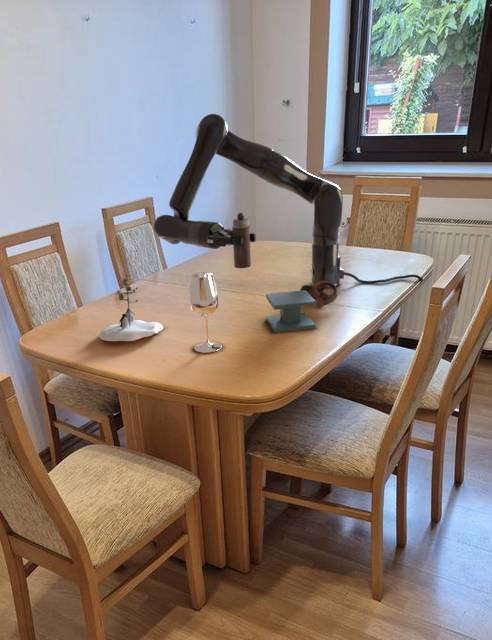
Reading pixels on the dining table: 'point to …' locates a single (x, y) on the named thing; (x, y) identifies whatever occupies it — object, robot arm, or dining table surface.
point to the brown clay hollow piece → (321, 293)
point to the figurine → (129, 323)
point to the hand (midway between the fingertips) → (248, 239)
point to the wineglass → (204, 305)
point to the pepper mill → (243, 252)
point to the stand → (290, 311)
